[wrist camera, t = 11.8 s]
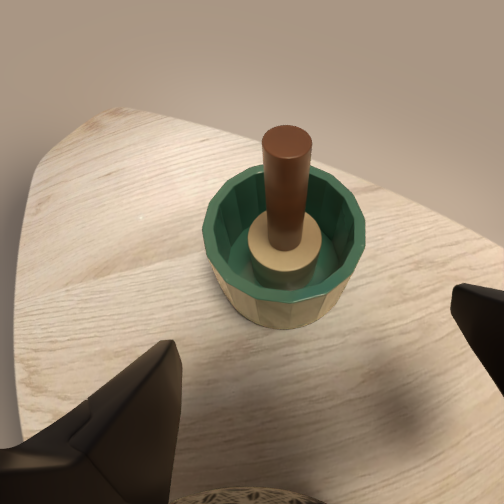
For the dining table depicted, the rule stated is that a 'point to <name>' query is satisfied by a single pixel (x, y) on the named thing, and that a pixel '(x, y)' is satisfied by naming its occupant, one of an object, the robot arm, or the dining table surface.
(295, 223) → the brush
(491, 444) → the dining table surface
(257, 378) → the dining table surface
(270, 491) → the decorative egg
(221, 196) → the green round pot
